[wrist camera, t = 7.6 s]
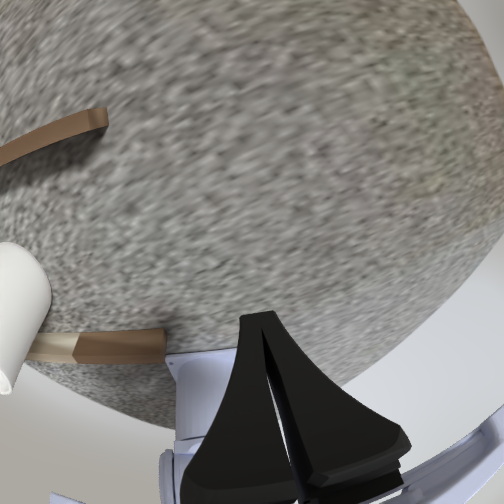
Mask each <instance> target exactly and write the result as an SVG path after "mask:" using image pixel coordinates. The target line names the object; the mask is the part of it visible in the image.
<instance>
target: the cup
mask: <svg viewBox="0 0 504 504" xmlns="http://www.w3.org/2000/svg"><path fill="white" fill-rule="evenodd" d="M51 299H52V293H51V287H50V283H49V280H48V277H47V275H46V273H45V271H44V269H43V268H42V266H41V265H40V263H39V262H38V261H37V259H36V258H35V257H34V256H33V255H32V254H31V253H30V252H29V251H27V250H26V249H25V248H23V247H22V246H20V245H18V244H15V243H12V242H2V243H0V394H3V395H8V394H10V393H11V392H12V390H13V387H14V384H15V382H16V379H17V377H18V374H19V372H20V369H21V367H22V365H23V362H24V360H25V358H26V355H27V353H28V351H29V349H30V347H31V345H32V342H33V340H34V338H35V336H36V334H37V332H38V330H39V328H40V326H41V324H42V322H43V320H44V319H45V317H46V315H47V313H48V310H49V308H50V305H51Z"/></svg>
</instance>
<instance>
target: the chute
mask: <svg viewBox="0 0 504 504" xmlns="http://www.w3.org/2000/svg"><path fill="white" fill-rule="evenodd" d="M108 125H109V122H108V114H107V108H95V109H87V110H84V111H81V112H78V113H75V114H72V115H70V116H67V117H64V118H62V119H59V120H57V121H54V122H52V123H49V124H47V125H45V126H42V127H40V128H38V129H36V130H33V131H31V132H29V133H27V134H25V135H23V136H21V137H19V138H17V139H15V140H13V141H11V142H9V143H7V144H5V145H3V146H2V147H0V167H1V166H3V165H5V164H7V163H9V162H11V161H13V160H15V159H17V158H19V157H22V156H24V155H26V154H28V153H31V152H33V151H35V150H38V149H40V148H43V147H45V146H48V145H50V144H53V143H55V142H58V141H61V140H64V139H66V138H69V137H72V136H75V135H78V134H81V133H84V132H87V131H91V130H94V129H97V128H101V127H104V126H108ZM166 342H167V336H166V333H165V331H164V328H158V329H145V330H129V331H111V332H82V333H37V334H36V336H35V338H34V340H33V342H32V345H31V347H30V349H29V351H28V353H27V355H26V358H25V360H34V361H45V362H58V363H76V364H149V363H164V362H165V352H166Z"/></svg>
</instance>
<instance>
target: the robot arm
mask: <svg viewBox="0 0 504 504" xmlns="http://www.w3.org/2000/svg"><path fill="white" fill-rule="evenodd" d="M239 320H240V330H239V339H238V346H237V348H232V349H224V350H216V351H207V352H196V353H185V354H172V355H166V356H165V362H166V364H167V366H168V368H169V370H170V372H171V374H172V376H173V378H174V380H175V382H176V440H175V441H174V453H173V450H171V449H166V450H165V452H164V453H162V454H161V455H160V460H159V489H160V499H161V504H293V503H295V501H296V500H298V504H369V503H371V502H374V501H376V500H378V499H381V498H383V497H386V496H388V495H390V494H392V493H394V492H396V491H398V490H400V489H403V490H402V493H401V494H400V495H399V496H396V497H393V498H391V499H389V500H386V501H384V502H382V503H379V504H465V503H466V502H467V501H468V500H469V499H470V498H471V497H472V496H473V495H474V494H476V493H477V492H478V491H479V490H480V489H481V488H482V487H483V486H484V485H485V483H487V482H488V481H489V479H490V478H491V477H492V476H493V475H494V474H495V473H496V472H497V471H498V470H499V468H500V467H501V466H502V465H503V464H504V404H503V405H502V406H501V407H500V408H499V409H498V410H497V411H496V412H494V413H493V414H492V415H491V416H489V417H488V418H487V419H486V420H485V421H484V422H483V423H481V424H480V426H479V427H477V428H476V429H475V430H473V431H472V432H471V433H469V434H468V435H466V436H465V437H464V438H462V439H461V440H460V441H458V442H457V443H455V444H453V445H452V446H450V447H449V448H447V449H446V450H444V451H443V452H441V453H440V454H438V455H436V456H435V457H433V458H431V459H430V460H428V461H426V462H424V463H422V464H421V465H419V466H417V467H415V468H413V469H411V470H409V471H407V472H405V473H403V474H400V472H399V469H398V468H400V467H401V465H400V462H399V460H398V459H399V458H400V457H402V456H403V455H404V454H406V453H407V452H408V451H409V450H410V449H411V447H412V445H411V443H410V441H409V439H408V437H407V435H406V434H405V432H404V431H403V429H402V428H401V426H400V425H398V424H396V423H394V422H392V421H390V420H388V419H387V418H385V417H383V416H381V415H379V414H378V413H376V412H374V411H373V410H371V409H369V408H368V407H366V406H364V405H363V404H362V403H360V402H359V401H357V400H356V399H355V398H353V397H352V396H350V395H349V394H348V393H346V392H345V391H344V390H342V389H341V388H340V387H339V386H337V385H336V384H335V383H334V382H333V381H332V380H330V379H329V378H328V377H327V376H326V375H325V374H324V373H323V372H322V371H321V370H320V369H319V368H318V367H317V366H316V365H315V364H314V363H313V362H312V361H311V360H310V359H309V358H308V357H307V355H306V354H305V353H304V352H303V351H302V350H301V348H300V347H299V346H298V345H297V344H296V342H295V341H294V340H293V338H292V337H291V336H290V334H289V333H288V332H287V330H286V329H285V327H284V326H283V324H282V323H281V321H280V320H279V318H278V316H277V314H276V312H274V311H273V310H272V311H266V312H260V313H253V314H247V315H242V316H241V317H240V318H239ZM266 373H267V374H266ZM267 377H268V380H269V383H270V386H271V389H272V392H273V395H274V399H275V402H276V405H277V408H278V411H279V414H280V418H281V422H282V427H283V431H284V436H285V440H286V445H287V450H288V455H289V459H290V462H289V459H288V455H287V452H286V449H285V445H284V442H283V438H282V434H281V430H280V427H279V423H278V419H277V416H276V412H275V408H274V404H273V400H272V396H271V392H270V388H269V384H268V380H267ZM290 464H291V465H290ZM50 504H85V503H83V502H80V501H77V500H74V499H71V498H68V497H65V496H62V495H59V494H56V493H54V492H51V493H50Z"/></svg>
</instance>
